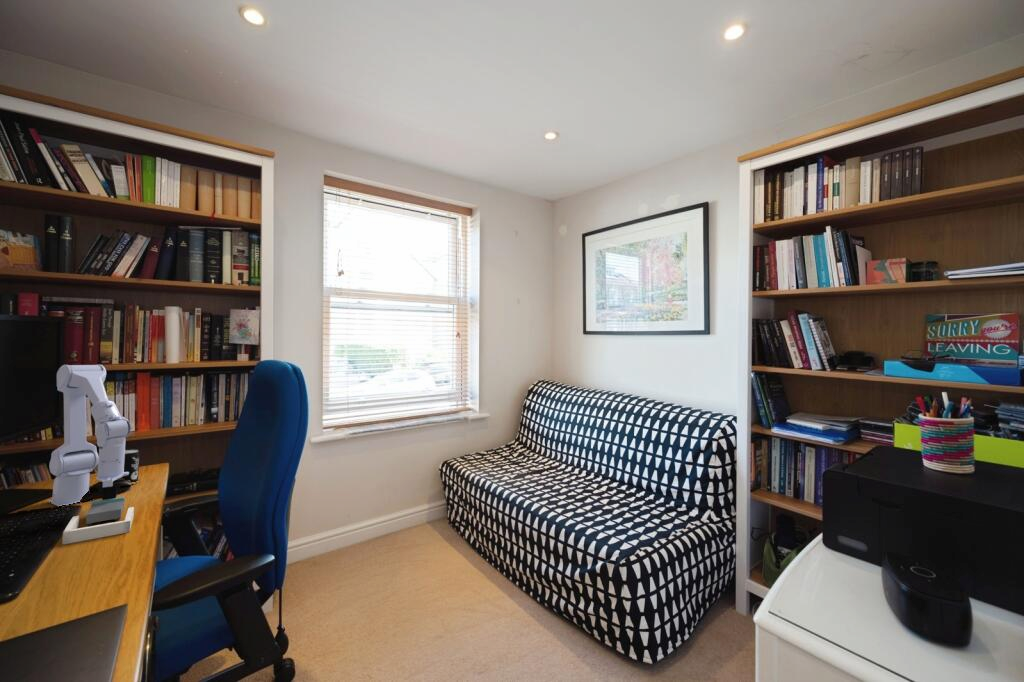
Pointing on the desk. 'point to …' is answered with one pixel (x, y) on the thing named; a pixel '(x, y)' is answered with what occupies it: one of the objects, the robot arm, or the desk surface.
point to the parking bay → (96, 529)
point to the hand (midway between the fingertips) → (108, 505)
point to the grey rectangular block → (105, 510)
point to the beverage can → (131, 465)
